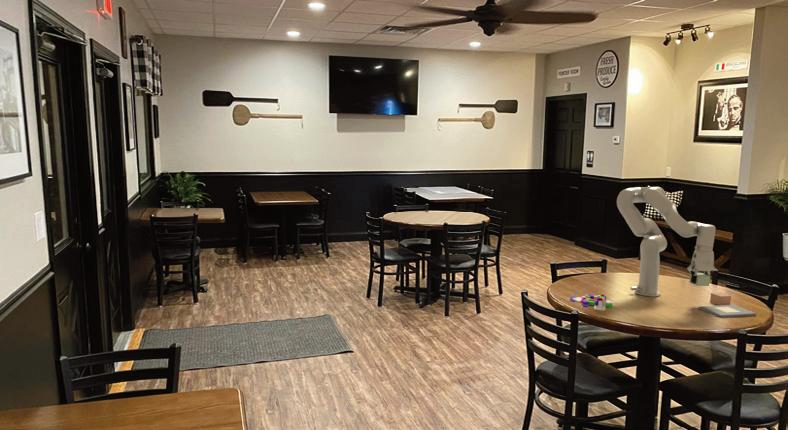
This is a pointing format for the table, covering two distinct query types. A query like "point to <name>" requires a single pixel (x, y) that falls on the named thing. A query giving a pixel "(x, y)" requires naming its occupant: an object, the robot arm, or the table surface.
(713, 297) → the terracotta block
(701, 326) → the table surface
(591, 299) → the building block set
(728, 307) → the slate baseplate
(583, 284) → the table surface
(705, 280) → the sage green block
